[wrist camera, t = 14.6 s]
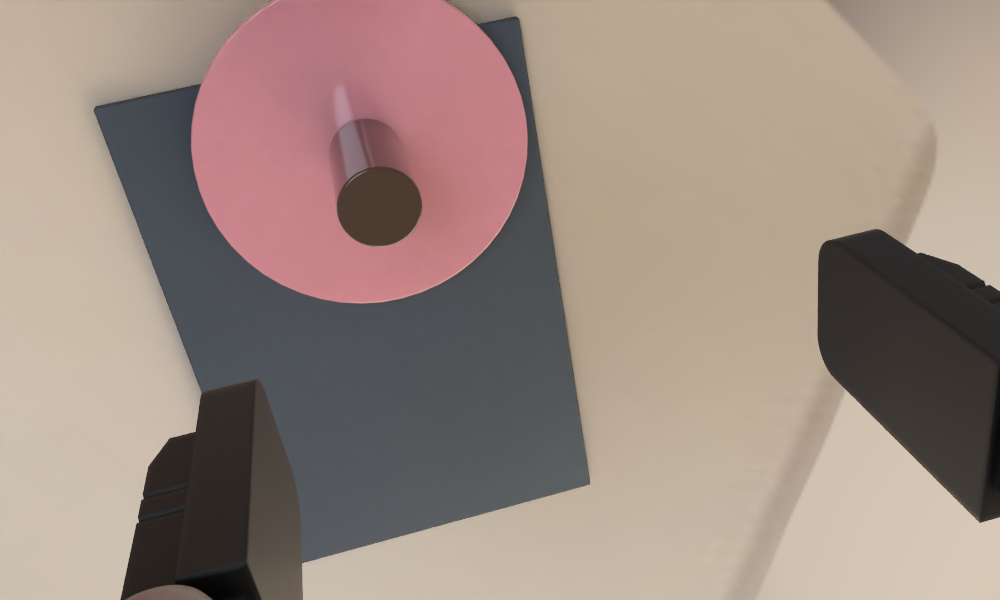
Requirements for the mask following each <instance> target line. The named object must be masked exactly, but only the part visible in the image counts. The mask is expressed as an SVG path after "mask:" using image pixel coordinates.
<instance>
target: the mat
mask: <svg viewBox="0 0 1000 600" xmlns="http://www.w3.org/2000/svg"><path fill="white" fill-rule="evenodd" d="M478 26H479V27H480V29H481V30H482V31H483V32H484V33H485V34H486V35H487V36H488V37H489V38H490V39H491V40H492V42H493V43H494V44H495V46H496V47H497V49H498V50H499V51H500V53H501V54H502V56H503V57H504V59H505V61H506V62H507V64H508V66H509V68H510V70H511V72H512V74H513V76H514V78H515V81H516V83H517V86H518V89H519V91H520V94H521V97H522V101H523V106H524V110H525V115H526V122H527V133H528V147H527V161H526V167H525V173H524V178H523V182H522V185H521V188H520V191H519V194H518V198H517V200H516V202H515V204H514V206H513V209H512V211H511V213H510V215H509V217H508V218H507V220H506V222H505V223H504V225H503V227H502V228H501V230H500V231H499V233H498V234H497V235H496V237H495V238H494V239H493V240H492V242H491V243H490V244H489V245H488V247H487V248H486V249H485V250H484V251H483V252H482V253H481V254H480V255H479V256H478V257H477V258H476V259H475V260H474V261H473V262H472V263H470V264H469V265H468V266H466V267H465V268H464V269H462V270H461V271H460V272H458V273H457V274H456V275H454V276H452V277H451V278H449V279H447V280H446V281H444V282H442V283H441V284H439V285H437V286H434V287H432V288H430V289H428V290H425V291H423V292H421V293H417V294H414V295H411V296H408V297H405V298H401V299H396V300H390V301H385V302H376V303H343V302H336V301H330V300H324V299H319V298H316V297H312V296H309V295H306V294H302V293H300V292H297V291H295V290H293V289H290V288H288V287H286V286H283V285H281V284H279V283H278V282H276V281H274V280H273V279H271V278H269V277H267V276H266V275H264V274H263V273H261V272H260V271H259V270H257V269H256V268H255V267H253V266H252V265H251V264H249V263H248V262H247V261H246V260H245V259H244V258H243V257H242V256H241V255H240V254H239V253H238V252H237V251H236V250H235V249H234V248H233V247H232V246H231V245H230V244H229V243H228V241H227V240H226V239H225V237H224V236H223V235H222V234H221V232H220V231H219V230H218V228H217V226H216V225H215V223H214V221H213V220H212V218H211V216H210V214H209V213H208V211H207V209H206V206H205V204H204V202H203V199H202V197H201V194H200V192H199V189H198V185H197V181H196V177H195V174H194V170H193V162H192V154H191V125H192V118H193V112H194V106H195V102H196V99H197V96H198V92H199V89H200V86H201V84H199V85H194V86H190V87H185V88H180V89H176V90H171V91H166V92H162V93H157V94H152V95H148V96H143V97H138V98H134V99H129V100H124V101H120V102H115V103H110V104H106V105H101V106H97V107H95V109H94V112H95V115H96V117H97V120H98V123H99V125H100V128H101V131H102V133H103V136H104V138H105V141H106V144H107V146H108V149H109V151H110V154H111V157H112V159H113V162H114V164H115V167H116V170H117V172H118V175H119V178H120V180H121V183H122V185H123V188H124V191H125V193H126V196H127V198H128V201H129V204H130V206H131V209H132V211H133V214H134V217H135V219H136V222H137V225H138V227H139V230H140V232H141V235H142V238H143V240H144V243H145V245H146V248H147V251H148V253H149V256H150V259H151V261H152V264H153V266H154V269H155V272H156V274H157V277H158V279H159V282H160V285H161V287H162V290H163V292H164V295H165V298H166V300H167V303H168V306H169V308H170V311H171V313H172V316H173V319H174V321H175V324H176V326H177V329H178V332H179V334H180V337H181V339H182V342H183V345H184V347H185V350H186V353H187V355H188V358H189V360H190V363H191V366H192V368H193V371H194V373H195V376H196V379H197V381H198V384H199V386H200V389H201V392H202V393H203V392H205V391H209V390H213V389H218V388H222V387H226V386H230V385H234V384H238V383H242V382H246V381H250V380H254V379H259V380H260V382H261V384H262V386H263V388H264V390H265V393H266V396H267V398H268V401H269V404H270V407H271V410H272V413H273V416H274V419H275V422H276V425H277V428H278V431H279V434H280V437H281V440H282V443H283V446H284V449H285V452H286V455H287V457H288V460H289V463H290V466H291V469H292V473H293V476H294V480H295V484H296V489H297V493H298V499H299V506H300V517H301V553H302V563H304V562H308V561H312V560H315V559H319V558H323V557H326V556H330V555H334V554H337V553H341V552H345V551H348V550H352V549H356V548H359V547H363V546H366V545H370V544H374V543H377V542H381V541H385V540H388V539H392V538H396V537H399V536H403V535H407V534H410V533H414V532H418V531H421V530H425V529H429V528H432V527H436V526H440V525H443V524H447V523H451V522H454V521H458V520H462V519H465V518H469V517H473V516H476V515H480V514H484V513H487V512H491V511H494V510H498V509H502V508H505V507H509V506H513V505H516V504H520V503H524V502H527V501H531V500H535V499H538V498H542V497H546V496H549V495H553V494H557V493H560V492H564V491H568V490H571V489H575V488H579V487H582V486H586V485H589V484H590V480H589V473H588V467H587V460H586V454H585V447H584V441H583V434H582V427H581V421H580V414H579V408H578V401H577V395H576V388H575V382H574V375H573V369H572V362H571V356H570V349H569V343H568V336H567V329H566V323H565V316H564V310H563V303H562V297H561V290H560V284H559V277H558V271H557V264H556V258H555V251H554V245H553V238H552V232H551V225H550V218H549V212H548V205H547V199H546V192H545V186H544V179H543V173H542V166H541V160H540V153H539V147H538V140H537V134H536V127H535V120H534V114H533V107H532V101H531V94H530V88H529V81H528V75H527V68H526V62H525V55H524V49H523V42H522V36H521V29H520V22H519V18H517V17H511V18H506V19H502V20H497V21H492V22H488V23H483V24H478Z"/></svg>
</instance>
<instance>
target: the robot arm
mask: <svg viewBox="0 0 1000 600" xmlns="http://www.w3.org/2000/svg"><path fill="white" fill-rule="evenodd" d="M818 343H819V348H820V352H821V355H822V358H823V361H824V363H825V365H826V367H827V369H828V371H829V372H830V373H831V375H832V376H833V377H834V378H835V379H836V380H837V381H838V382H839V383H840V384H841V385H842V386H843V387H844V388H845V389H846V390H847V391H848V392H849V393H850V394H851V395H852V396H853V397H854V398H855V399H856V400H857V401H858V402H859V403H860V404H861V405H862V406H863V407H864V408H865V409H866V410H867V411H868V412H869V413H870V414H871V415H872V416H873V417H874V418H875V419H876V420H877V421H878V422H879V423H880V424H881V425H882V426H883V427H884V428H885V429H886V430H887V431H888V432H889V433H890V434H891V435H892V436H893V437H894V438H895V439H896V440H897V441H898V442H899V443H900V444H901V445H902V446H903V447H904V448H905V449H906V450H907V451H908V452H909V453H910V454H911V455H912V456H913V457H914V458H915V459H916V460H917V461H918V462H919V463H920V464H921V465H922V466H923V467H924V468H925V469H926V470H927V471H928V472H930V474H932V476H933V477H934V478H935V479H936V480H937V481H938V482H939V483H940V484H941V485H942V486H943V487H944V488H946V490H947V491H949V492H950V493H951V495H953V497H955V499H957V500H958V501H959V502H960V503H961V504H962V505H963V506H964V507H965V508H966V509H967V510H968V511H969V512H970V513H971V514H972V515H973V516H974V517H975V518H976V519H977V520H978V521H979V522H980V523H981V522H984V521H988V520H991V519H995V518H998V517H1000V291H998V290H997V289H995V288H994V287H992V286H990V285H988V286H986V285H985V283H984V281H983V280H981V279H980V278H978V277H976V276H975V275H973V274H972V273H970V272H968V271H967V270H966V269H964V268H962V267H961V266H959V265H958V264H954V263H951V262H948V261H945V260H942V259H939V258H936V257H933V256H930V255H926V254H923V253H918V254H917V253H915V252H914V251H912V250H911V249H909V248H908V247H906V246H905V245H903V244H902V243H900V242H899V241H897V240H896V239H894V238H893V237H891V236H890V235H888V234H887V233H885V232H884V231H882V230H879V229H873V230H869V231H865V232H861V233H857V234H853V235H849V236H845V237H841V238H837V239H833V240H828V241H826V242H825V243H824V244H823V245H822V247H821V249H820V252H819V260H818ZM143 497H144V499H143V500H141V505H140V510H139V515H138V519H139V523H137V524H136V529H135V534H134V538H133V543H132V548H131V553H130V558H129V562H128V567H127V572H126V577H125V581H124V586H123V591H122V596H121V600H303V591H302V553H301V517H300V506H299V499H298V493H297V489H296V484H295V480H294V476H293V473H292V469H291V466H290V463H289V460H288V457H287V455H286V452H285V449H284V446H283V443H282V440H281V437H280V434H279V431H278V428H277V425H276V422H275V419H274V416H273V413H272V410H271V407H270V404H269V401H268V398H267V396H266V393H265V390H264V388H263V386H262V384H261V382H260V380H259V379H254V380H250V381H246V382H242V383H238V384H234V385H230V386H226V387H222V388H218V389H213V390H209V391H205V392H203V393H202V395H201V399H200V406H199V413H198V420H197V427H196V432H193V433H189V434H185V435H181V436H177V437H173V438H170V439H169V440H168V441H167V443H166V444H165V445H164V447H163V448H162V449H161V451H160V452H159V453H158V455H157V456H156V457H155V459H154V460H153V461H152V463H151V464H150V465H149V467H148V472H147V477H146V481H145V486H144V491H143Z"/></svg>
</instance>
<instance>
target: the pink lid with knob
mask: <svg viewBox="0 0 1000 600" xmlns="http://www.w3.org/2000/svg"><path fill="white" fill-rule="evenodd" d="M527 147H528V133H527V122H526V115H525V110H524V106H523V101H522V97H521V94H520V91H519V89H518V86H517V83H516V81H515V78H514V76H513V74H512V72H511V70H510V68H509V66H508V64H507V62H506V61H505V59H504V57H503V56H502V54H501V53H500V51H499V50H498V49H497V47H496V46H495V44H494V43H493V42H492V40H491V39H490V38H489V37H488V36H487V35H486V34H485V33H484V32H483V31H482V30H481V29H480V27H479V26H478V25H477V24H476V23H475V22H474V21H472V20H471V19H470V18H469V17H467V16H466V15H465V14H464V13H463V12H461V11H460V10H459V9H458V8H456V7H455V6H453V5H452V4H450V3H448V2H447V1H445V0H271V1H269V2H267V3H266V4H264V5H262V6H261V7H259V8H258V9H257V10H255V11H254V12H253V13H252V14H251V15H249V16H248V17H247V18H246V19H245V20H243V21H242V22H241V23H240V24H239V25H238V26H237V27H236V28H235V30H234V31H233V32H232V33H231V34H230V35H229V36H228V37H227V38H226V40H225V41H224V42H223V44H222V45H221V47H220V48H219V50H218V51H217V53H216V54H215V56H214V57H213V59H212V61H211V63H210V65H209V67H208V69H207V71H206V73H205V76H204V78H203V80H202V83H201V86H200V89H199V92H198V96H197V99H196V102H195V106H194V112H193V118H192V125H191V154H192V162H193V170H194V174H195V177H196V181H197V185H198V189H199V192H200V194H201V197H202V199H203V202H204V204H205V206H206V209H207V211H208V213H209V214H210V216H211V218H212V220H213V221H214V223H215V225H216V226H217V228H218V230H219V231H220V232H221V234H222V235H223V236H224V237H225V239H226V240H227V241H228V243H229V244H230V245H231V246H232V247H233V248H234V249H235V250H236V251H237V252H238V253H239V254H240V255H241V256H242V257H243V258H244V259H245V260H246V261H247V262H248V263H249V264H251V265H252V266H253V267H255V268H256V269H257V270H259V271H260V272H261V273H263V274H264V275H266V276H267V277H269V278H271V279H273V280H274V281H276V282H278V283H279V284H281V285H283V286H286V287H288V288H290V289H293V290H295V291H297V292H300V293H302V294H306V295H309V296H312V297H316V298H319V299H324V300H330V301H336V302H343V303H376V302H385V301H390V300H396V299H401V298H405V297H408V296H411V295H414V294H417V293H421V292H423V291H425V290H428V289H430V288H432V287H434V286H437V285H439V284H441V283H442V282H444V281H446V280H447V279H449V278H451V277H452V276H454V275H456V274H457V273H458V272H460V271H461V270H462V269H464V268H465V267H466V266H468V265H469V264H470V263H472V262H473V261H474V260H475V259H476V258H477V257H478V256H479V255H480V254H481V253H482V252H483V251H484V250H485V249H486V248H487V247H488V245H489V244H490V243H491V242H492V240H493V239H494V238H495V237H496V235H497V234H498V233H499V231H500V230H501V228H502V227H503V225H504V223H505V222H506V220H507V218H508V217H509V215H510V213H511V211H512V209H513V206H514V204H515V202H516V200H517V198H518V194H519V191H520V188H521V185H522V182H523V178H524V173H525V167H526V161H527Z"/></svg>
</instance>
